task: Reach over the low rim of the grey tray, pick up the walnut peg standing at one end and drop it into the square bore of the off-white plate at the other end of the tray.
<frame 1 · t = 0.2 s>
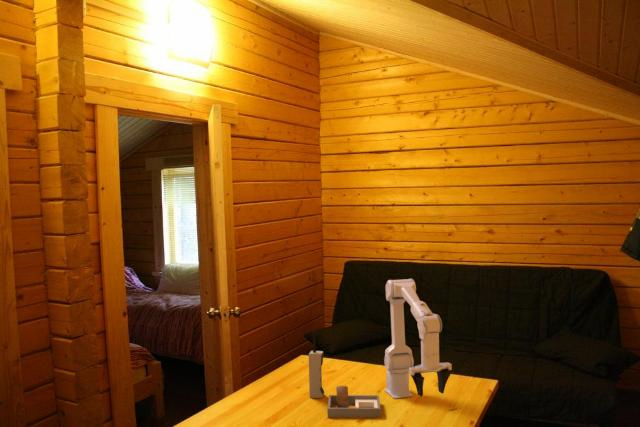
hand: (430, 393, 169), 10 cm above the table, tool pointing down, fingers open, 7 cm apart
grey tray: (354, 410, 182), on the table
vintage mobile phone: (317, 396, 195), on the table
walnut peg: (342, 410, 182), resting in grey tray
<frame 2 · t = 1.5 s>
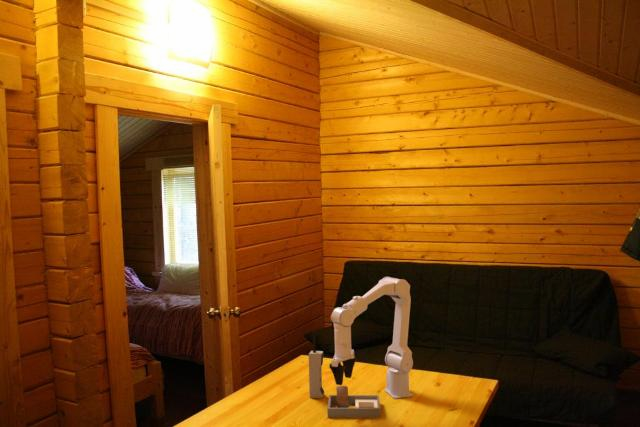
hand: (343, 380, 181), 10 cm above the table, tool pointing down, fingers open, 7 cm apart
nothing on the table moved.
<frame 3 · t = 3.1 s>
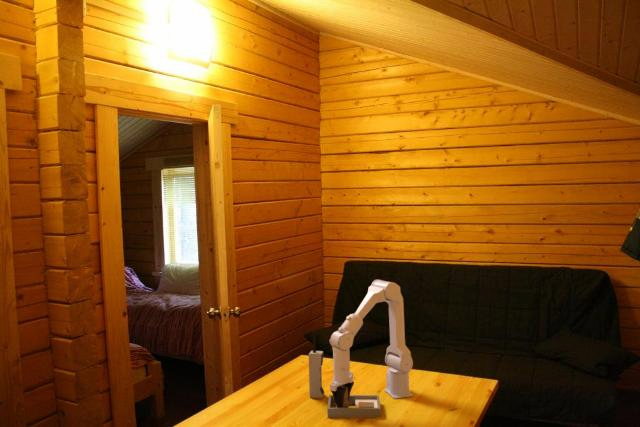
hand: (342, 404, 182), 2 cm above the table, tool pointing down, fingers closed on walnut peg, 4 cm apart
walnut peg: (342, 410, 182), resting in grey tray, touching gripper
everything else where it was.
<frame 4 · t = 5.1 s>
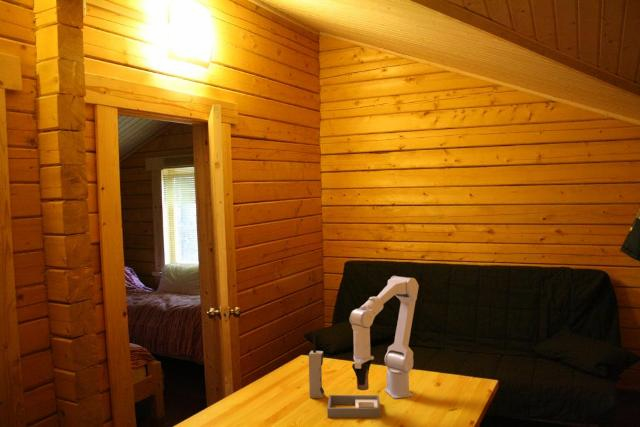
hand: (362, 382, 181), 10 cm above the table, tool pointing down, fingers closed on walnut peg, 4 cm apart
walnut peg: (362, 388, 181), point 8 cm above the table, touching gripper
everything else where it was.
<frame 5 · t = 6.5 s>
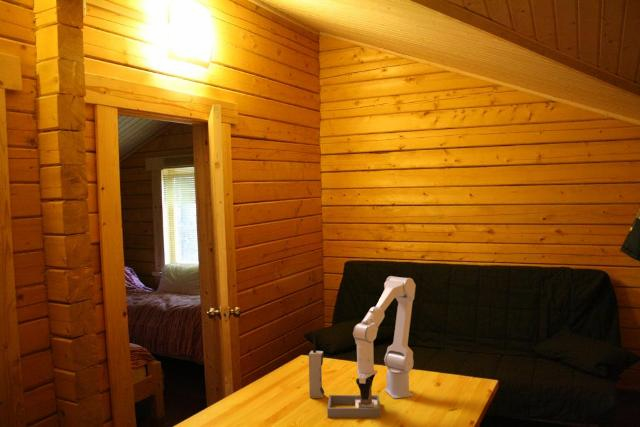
hand: (366, 396, 181), 5 cm above the table, tool pointing down, fingers closed on walnut peg, 4 cm apart
walnut peg: (366, 402, 181), point 3 cm above the table, touching gripper
everything else where it was.
when the fingers open (3 cm above the table, at t = 7.4 s): walnut peg stays where it is, resting in grey tray.
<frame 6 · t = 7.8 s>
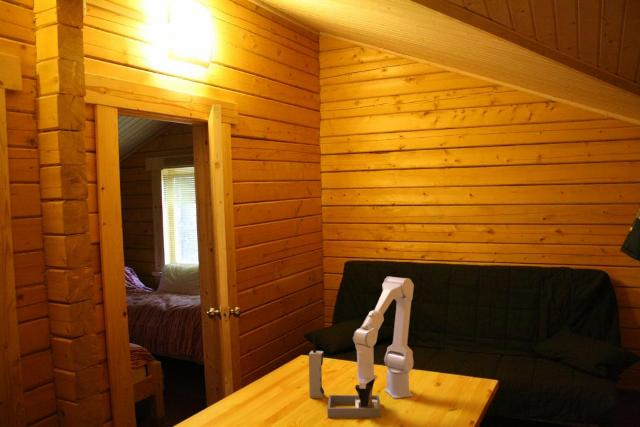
hand: (366, 401, 181), 3 cm above the table, tool pointing down, fingers open, 7 cm apart
walnut peg: (366, 410, 181), resting in grey tray
everything else where it was.
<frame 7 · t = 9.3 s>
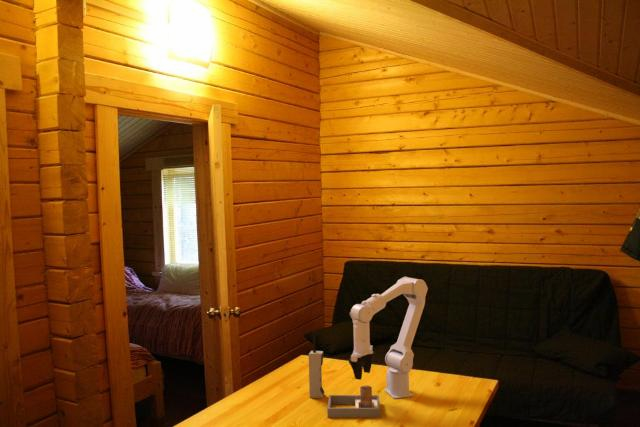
hand: (362, 375, 186), 10 cm above the table, tool pointing down, fingers open, 7 cm apart
nothing on the table moved.
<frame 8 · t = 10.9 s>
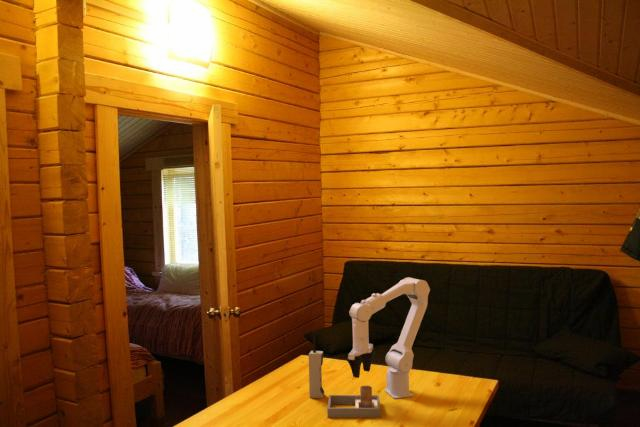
hand: (361, 374, 188), 10 cm above the table, tool pointing down, fingers open, 7 cm apart
nothing on the table moved.
at the end: walnut peg 0.0 cm from the target spot, resting in grey tray; walnut peg tilted 0°; the gripper is holding nothing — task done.
